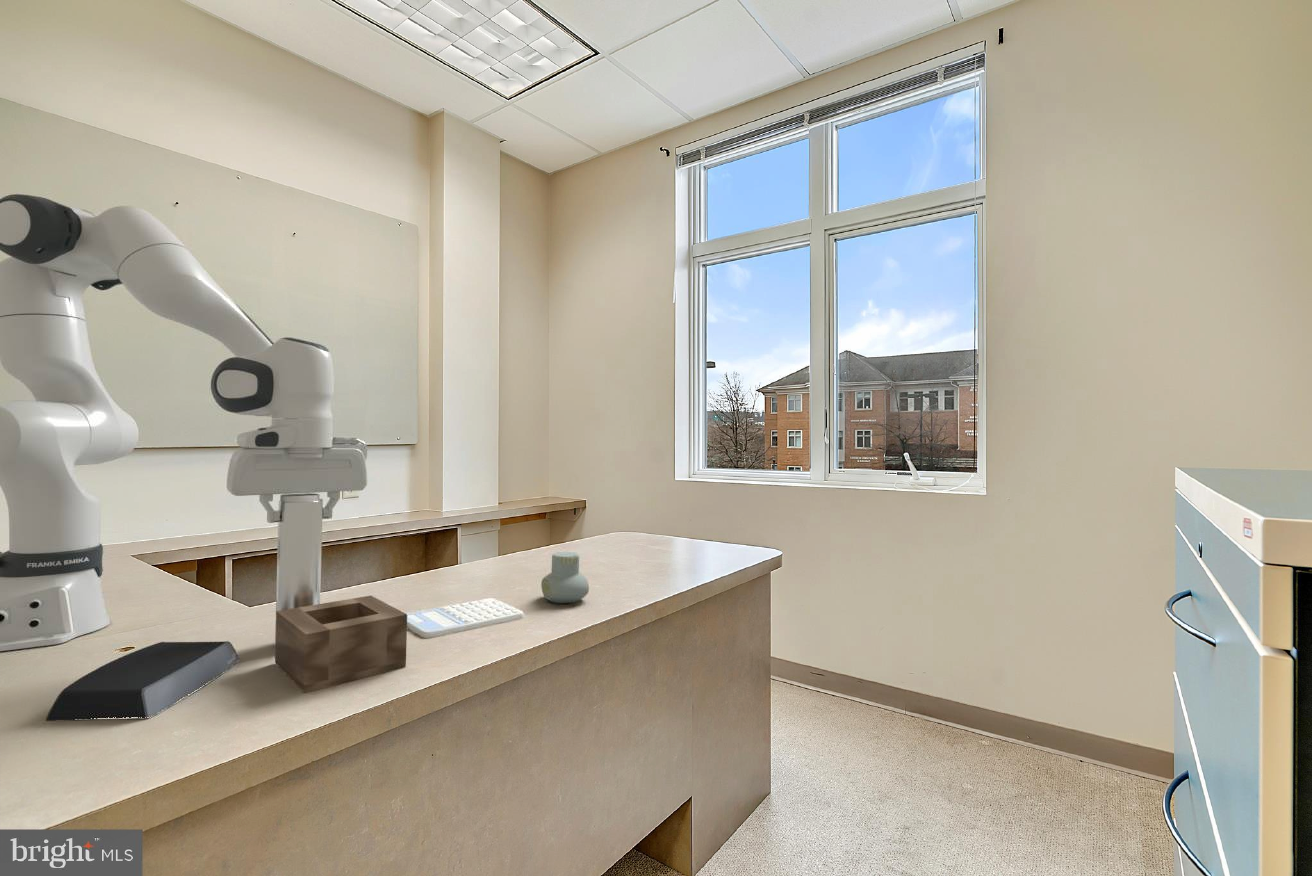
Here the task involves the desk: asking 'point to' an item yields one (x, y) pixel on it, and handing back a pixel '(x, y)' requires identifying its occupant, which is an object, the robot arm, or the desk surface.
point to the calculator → (461, 617)
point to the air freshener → (565, 579)
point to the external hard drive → (144, 681)
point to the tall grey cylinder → (299, 551)
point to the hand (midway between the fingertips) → (300, 520)
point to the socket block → (340, 641)
